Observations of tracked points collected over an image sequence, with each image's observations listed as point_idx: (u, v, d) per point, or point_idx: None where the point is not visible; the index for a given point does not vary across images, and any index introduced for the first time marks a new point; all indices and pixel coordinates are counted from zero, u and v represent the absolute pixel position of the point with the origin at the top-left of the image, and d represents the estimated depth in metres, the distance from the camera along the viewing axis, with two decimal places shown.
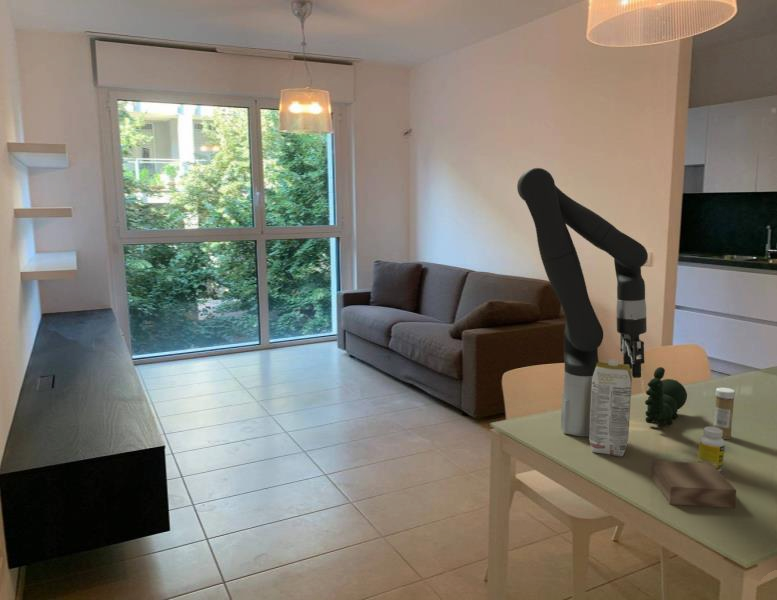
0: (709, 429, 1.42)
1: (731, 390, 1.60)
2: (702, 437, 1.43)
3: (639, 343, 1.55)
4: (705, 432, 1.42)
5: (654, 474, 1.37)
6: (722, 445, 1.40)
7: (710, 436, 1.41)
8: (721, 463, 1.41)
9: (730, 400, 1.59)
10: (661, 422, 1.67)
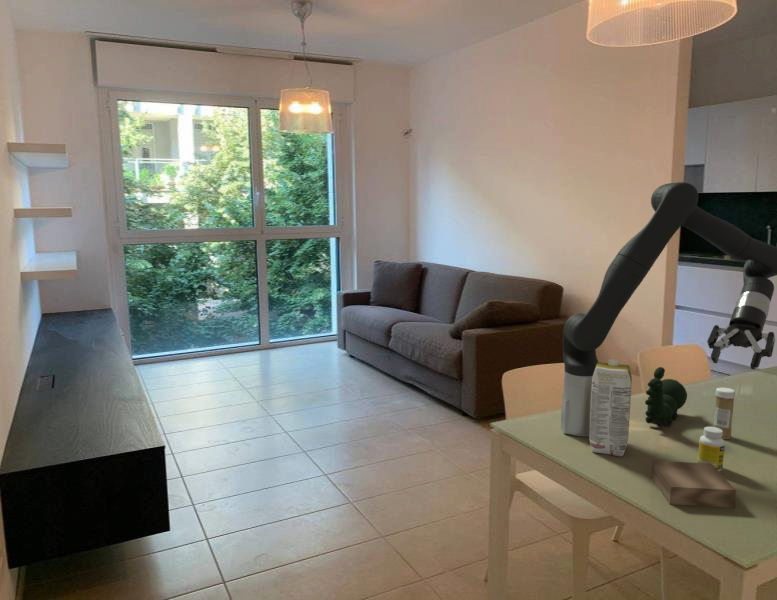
0: (709, 429, 1.42)
1: (731, 390, 1.60)
2: (702, 437, 1.43)
3: (774, 336, 1.47)
4: (705, 432, 1.42)
5: (654, 474, 1.37)
6: (722, 445, 1.40)
7: (710, 436, 1.41)
8: (721, 463, 1.41)
9: (730, 400, 1.59)
10: (661, 422, 1.67)
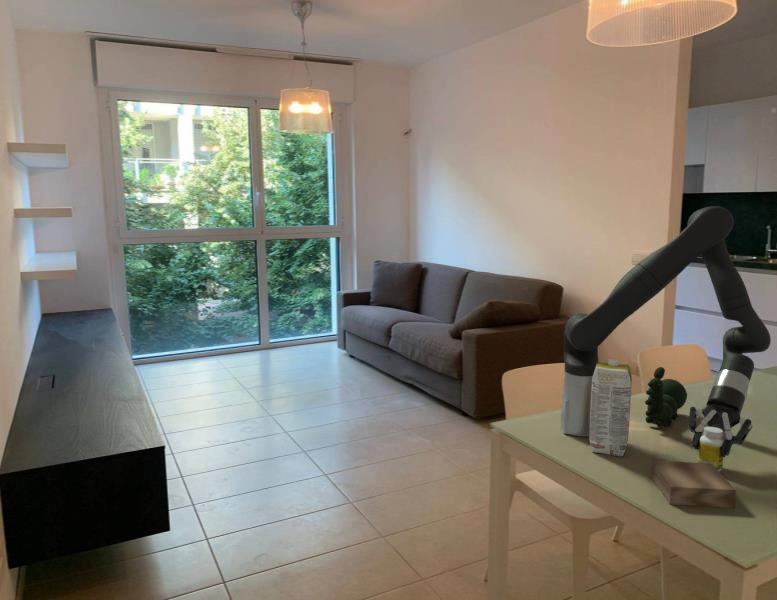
0: (709, 429, 1.42)
1: None
2: (702, 437, 1.43)
3: (751, 424, 1.40)
4: (705, 432, 1.42)
5: (654, 474, 1.37)
6: (722, 445, 1.40)
7: (710, 436, 1.41)
8: (721, 463, 1.41)
9: None
10: (661, 422, 1.67)
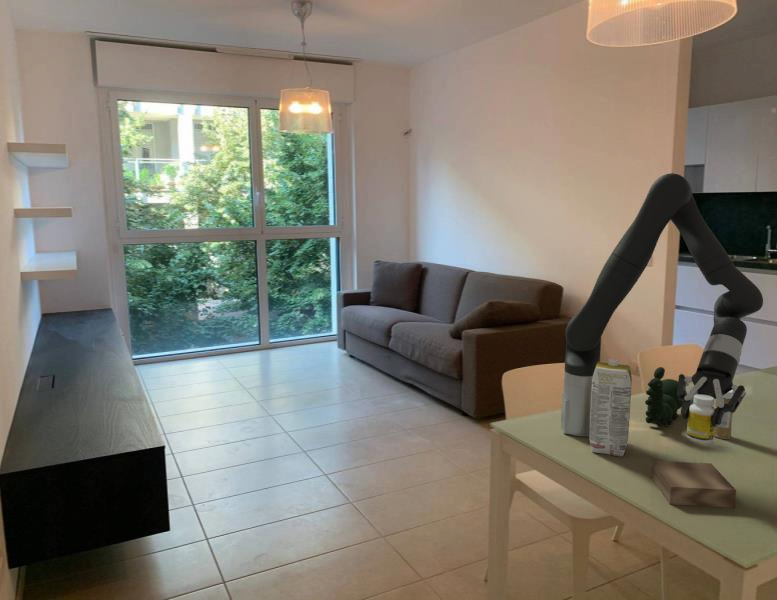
0: (699, 396, 1.31)
1: (731, 390, 1.60)
2: (692, 405, 1.32)
3: (744, 391, 1.30)
4: (695, 400, 1.31)
5: (654, 474, 1.37)
6: None
7: (700, 404, 1.30)
8: (712, 433, 1.30)
9: None
10: (661, 422, 1.67)
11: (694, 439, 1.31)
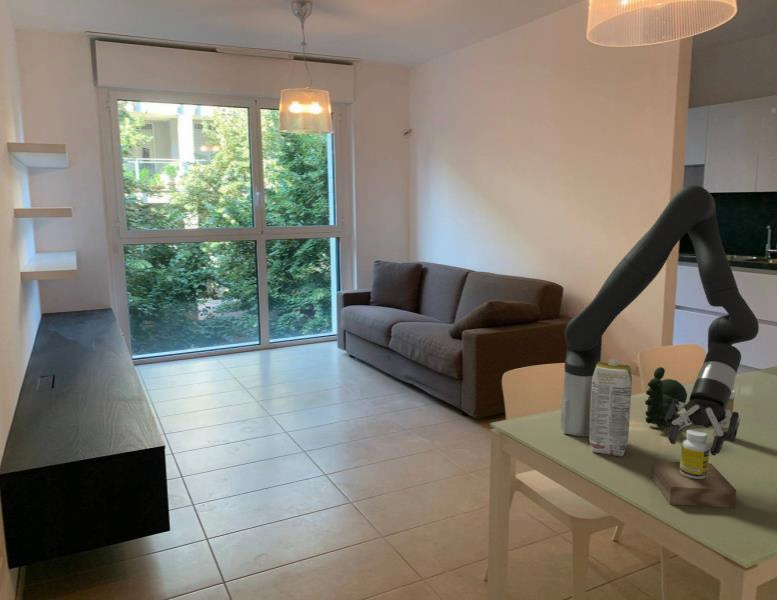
0: (692, 432, 1.30)
1: None
2: (685, 441, 1.31)
3: (739, 417, 1.28)
4: (687, 436, 1.30)
5: (654, 474, 1.37)
6: (706, 450, 1.28)
7: (693, 440, 1.29)
8: (705, 469, 1.29)
9: (730, 400, 1.59)
10: (661, 422, 1.67)
11: (687, 475, 1.30)
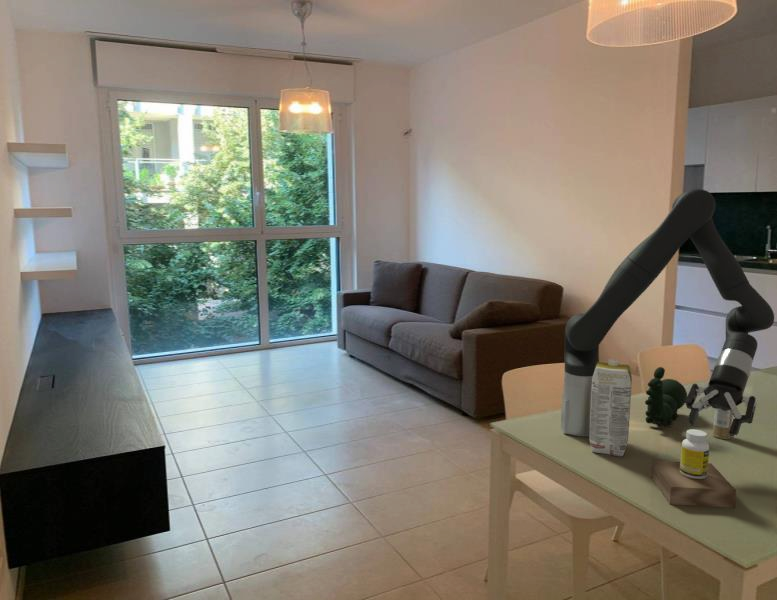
0: (692, 432, 1.30)
1: None
2: (685, 441, 1.31)
3: (755, 401, 1.38)
4: (687, 436, 1.30)
5: (654, 474, 1.37)
6: (706, 450, 1.28)
7: (693, 440, 1.29)
8: (705, 469, 1.29)
9: None
10: (661, 422, 1.67)
11: (687, 475, 1.30)
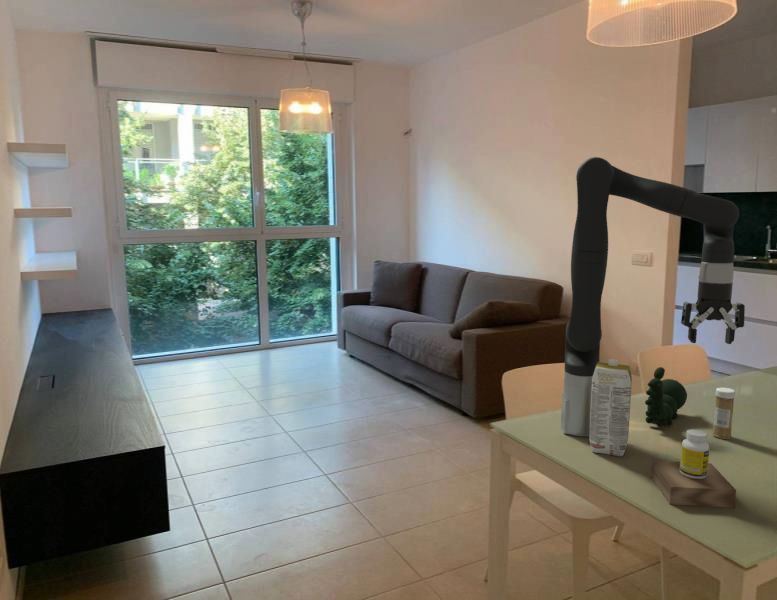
0: (692, 432, 1.30)
1: (731, 390, 1.60)
2: (685, 441, 1.31)
3: None
4: (687, 436, 1.30)
5: (654, 474, 1.37)
6: (706, 450, 1.28)
7: (693, 440, 1.29)
8: (705, 469, 1.29)
9: (730, 400, 1.59)
10: (661, 422, 1.67)
11: (687, 475, 1.30)
